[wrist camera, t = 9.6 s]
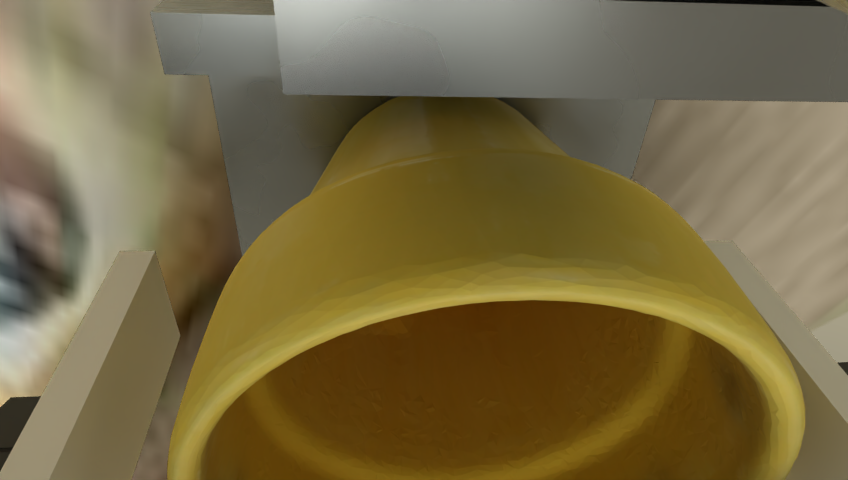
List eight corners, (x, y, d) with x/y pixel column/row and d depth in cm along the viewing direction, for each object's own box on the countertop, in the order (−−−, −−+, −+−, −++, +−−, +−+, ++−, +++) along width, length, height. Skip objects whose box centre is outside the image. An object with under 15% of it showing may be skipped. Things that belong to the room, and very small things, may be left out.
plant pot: (341, 347, 21) (325, 666, 13) (189, 92, 15) (-11, 410, 7) (622, 269, 20) (787, 571, 12) (584, -44, 14) (872, 159, 6)
